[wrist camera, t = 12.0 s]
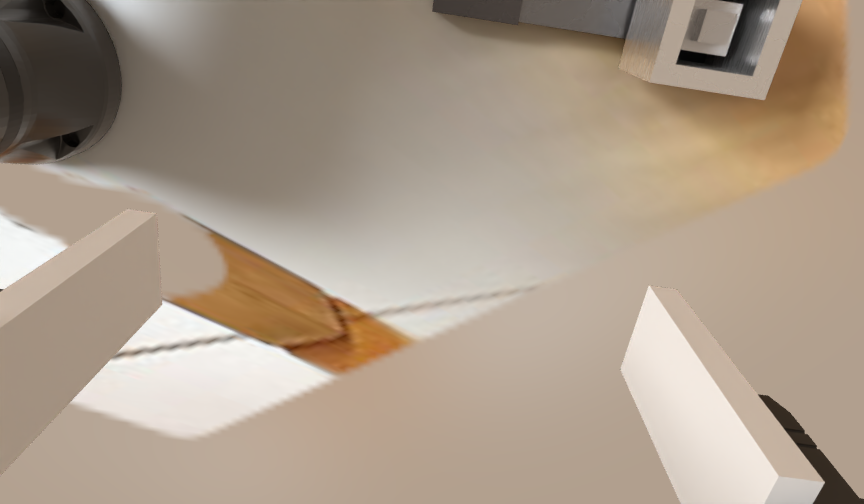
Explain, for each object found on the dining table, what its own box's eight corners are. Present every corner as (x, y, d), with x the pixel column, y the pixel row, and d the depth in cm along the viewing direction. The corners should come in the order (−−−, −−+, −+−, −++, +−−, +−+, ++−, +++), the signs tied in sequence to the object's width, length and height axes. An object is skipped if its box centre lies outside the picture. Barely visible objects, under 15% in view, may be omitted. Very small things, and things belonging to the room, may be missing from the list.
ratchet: (430, 32, 42) (425, 40, 34) (443, -65, 40) (441, -81, 32) (695, 74, 43) (749, 91, 35) (726, -20, 40) (791, -23, 32)
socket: (618, 68, 40) (649, 82, 34) (647, -42, 37) (687, -51, 31) (715, 83, 40) (764, 100, 34) (751, -26, 37) (813, -30, 31)
